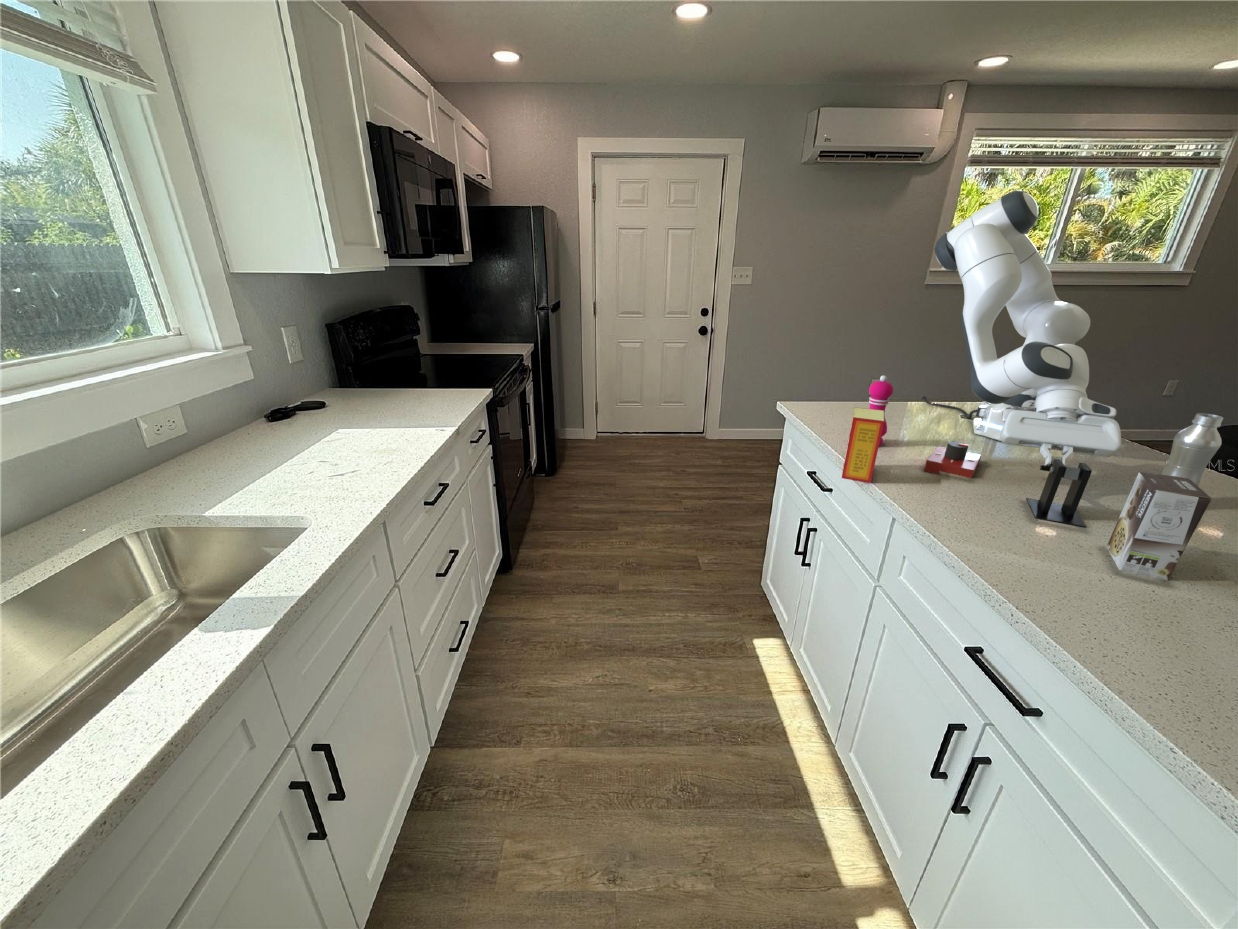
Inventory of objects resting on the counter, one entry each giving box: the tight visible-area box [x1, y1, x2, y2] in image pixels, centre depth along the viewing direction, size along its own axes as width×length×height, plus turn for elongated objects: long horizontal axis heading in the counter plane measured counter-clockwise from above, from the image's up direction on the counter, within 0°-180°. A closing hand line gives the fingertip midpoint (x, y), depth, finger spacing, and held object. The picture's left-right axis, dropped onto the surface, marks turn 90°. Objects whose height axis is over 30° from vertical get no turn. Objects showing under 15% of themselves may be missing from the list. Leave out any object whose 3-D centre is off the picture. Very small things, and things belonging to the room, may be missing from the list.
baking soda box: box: [841, 407, 884, 484], centre depth 120 cm, size 10×6×16 cm
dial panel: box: [923, 445, 982, 479], centre depth 125 cm, size 13×10×3 cm
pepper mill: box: [868, 374, 894, 447], centre depth 139 cm, size 7×7×20 cm
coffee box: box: [1106, 471, 1213, 582], centre depth 83 cm, size 9×6×16 cm
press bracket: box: [1025, 459, 1093, 529], centre depth 100 cm, size 10×8×12 cm
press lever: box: [1039, 464, 1080, 481], centre depth 102 cm, size 11×5×2 cm, turn 151°
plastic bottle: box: [1160, 412, 1224, 487], centre depth 104 cm, size 6×7×20 cm
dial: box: [944, 440, 970, 460], centre depth 124 cm, size 4×4×4 cm
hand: (1054, 465), depth 106 cm, fingers closed, pressing on press lever
